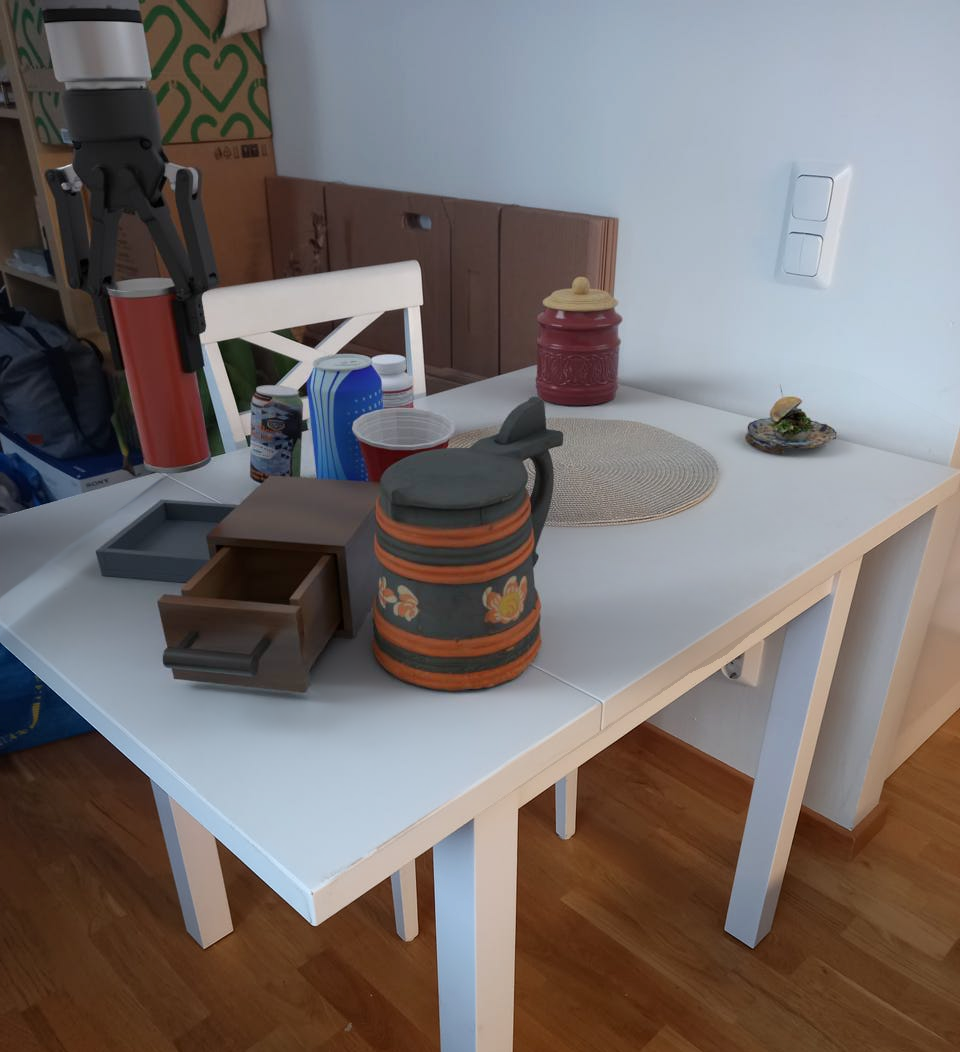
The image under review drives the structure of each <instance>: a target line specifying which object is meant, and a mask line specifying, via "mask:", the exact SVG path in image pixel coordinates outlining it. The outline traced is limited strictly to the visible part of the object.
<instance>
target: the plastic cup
mask: <svg viewBox="0 0 960 1052" xmlns="http://www.w3.org/2000/svg"><path fill="white" fill-rule="evenodd" d="M352 431H353V433H354V435H355V436H356V437H357V440H358V441H359V446H360V447H361V451H362V455H363V457H364V460H365V464H366V468H367V473H368V477H369V481H370V482H380V481H381V477H382V475H383V473H384V472H385V471H386V470H387V469H388V468H389V467H390V466H391V465H393V464H395V463H396V462H398V461H400V460H402V459H404V458H406V457H408V456H411V455H414V454H417V453H420V452H424V451H429V450H435V449H445V448H449V442H450V441H451V439H452V437H453V436H454V434H455V423H454V422H453V421H452V420H451V419H450V418H449V417H448V416H446V415H444V414H441V413H439V412H436V411H433V410H427V409H422V408H417V407H414V408H389V409H382V410H376V411H373V412H370V413H367V414H364V415H362V416H360V417H359V418H358V419H356V420H355V421H354V422H353V427H352Z"/></svg>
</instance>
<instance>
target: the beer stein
mask: <svg viewBox="0 0 960 1052" xmlns="http://www.w3.org/2000/svg"><path fill="white" fill-rule="evenodd" d="M545 406H546V405H545V400H543V399H542V398H540V397H539V396H531V397H529V398H528V399H527V401H524V402H522V403H520V404H518V405H517V406H516V407H515V408H514V409H512V410H511V411H510V412H509V414H508V415H507V417H506V418H505V420H504V421H503V423H502V425H501V427H500V430H499V431H498V433H496V434H493V435H490V436H487V437H483V438H480V439H478V440H477V441H475V442H474V443H473V444H471V446H469V447H447V448H445V449H435V450H429V451H424V452H420V453H417V454H414V455H411V456H408V457H406V458H404V459H402V460H400V461H398V462H396V463H395V464H393V465H391V466H390V467H389V468H388V469H387V470H386V471H385V472H384V473H383V475H382V477H381V481H380V482H381V492H380V495H379V496H378V498H377V500H376V521H375V525H376V528H375V537H374V540H375V544H374V550H375V553H376V555H377V558H378V576H377V594H376V595H375V598H374V602H373V607H372V624H373V625H372V627H373V628H372V629H373V632H372V633H373V635H372V650H373V653H374V656H375V658H376V660H377V661H378V662H379V664H380V665H381V666H382V667H383V668H384V670H385V671H386V672H387V673H389V674H390V675H392V676H393V677H394V678H396V679H398V680H399V681H401V682H404V683H406V684H410V685H413V686H418V687H422V688H426V689H429V690H436V691H445V692H460V691H461V692H462V691H468V690H477V689H478V690H479V689H488V688H492V687H495V686H500V685H504V684H505V683H507V682H511V681H513V680H515V679H516V678H518V677H520V676H521V674H523V672H524V671H525V670H526V669H527V668H529V666H530V664H532V663H533V662H534V660H535V659H536V658H537V656H538V654H539V652H540V649H541V647H542V643H543V641H542V634H541V624H540V623H541V609H542V603H541V599H540V595H539V592H538V590H537V588H536V585H535V582H536V581H535V572H534V568H535V566H536V565H537V562H538V561H539V558H540V557H539V554H538V553H537V547H538V543H539V541H540V539H541V535H542V532H543V531H544V527H545V524H546V521H547V518H548V514H549V512H550V508H551V504H552V499H553V493H554V482H555V474H554V464H553V460H552V456H551V453H550V450H551V449H554V448H558V447H559V448H560V447H562V446H563V444H564V432H562V431H561V430H555V429H548V428H547V418H546V417H547V416H546V407H545ZM528 459H529V460H530V461H532V463H533V466H534V470H535V474H534V475H535V476H534V484H533V488H532V490H531V494H530V492H529V490H528V488H527V487H526V486H527V484H528V483H529V482H528V481H529V474H528V470H527V468H526V466H525V464H524V461H526V460H528Z"/></svg>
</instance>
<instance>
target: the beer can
mask: <svg viewBox="0 0 960 1052" xmlns="http://www.w3.org/2000/svg"><path fill="white" fill-rule="evenodd" d="M312 366H313V368H312V370H311V372H310V374H309V376H308V378H307V382H306V391H307V399H308V400H307V401H308V402H307V403H308V409H309V410H308V411H309V421H310V427H311V438H312V447H313V455H314V466H315V474H316V478H318V479H334V480H350V481H366V482H370V481H369V477H368V473H367V468H366V464H365V460H364V457H363V455H362V451H361V447H360V446H359V441H358V440H357V437H356V436H355V435H354V433H353V431H352V427H353V422H354V421H355V420H356V419H358V418H359V417H360V416H362V415H364V414H367V413H370V412H373V411H376V410H382V409H383V395H382V381H381V378H380V376H379V375H378V373H377V372H376V370H375V369H374V367H373V366H372V357H369V356H367V355H363V354H356V353H338V354H337V353H336V354H328V355H324V356H321V357H318V358H316V359H313V361H312Z"/></svg>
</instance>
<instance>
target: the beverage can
mask: <svg viewBox="0 0 960 1052" xmlns="http://www.w3.org/2000/svg"><path fill="white" fill-rule="evenodd" d="M255 388H256V389H255V392H254V394H253V395H252V397H251V400H250V446H249V447H250V448H249V449H250V452H249V464H250V465H249V477H250V479H251V480H253V481H254V482H255V483H256V484H257V485H258V486H260V485H261V484H262V483H263V482H264V481H265V480H266V479H267V478H268V477H269V476H286V477H301V466H302V443H303V442H302V441H303V418H304V415H303V414H304V402H303V400H302V399H301V396H300V395H299V393H300V392H299V390H298V389H296V388H293V387H289V386H285V385H284V386H283V385H277V384H276V385H274V384H267V385H266V384H265V385H264V384H263V385H259V386H257V387H255Z"/></svg>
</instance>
